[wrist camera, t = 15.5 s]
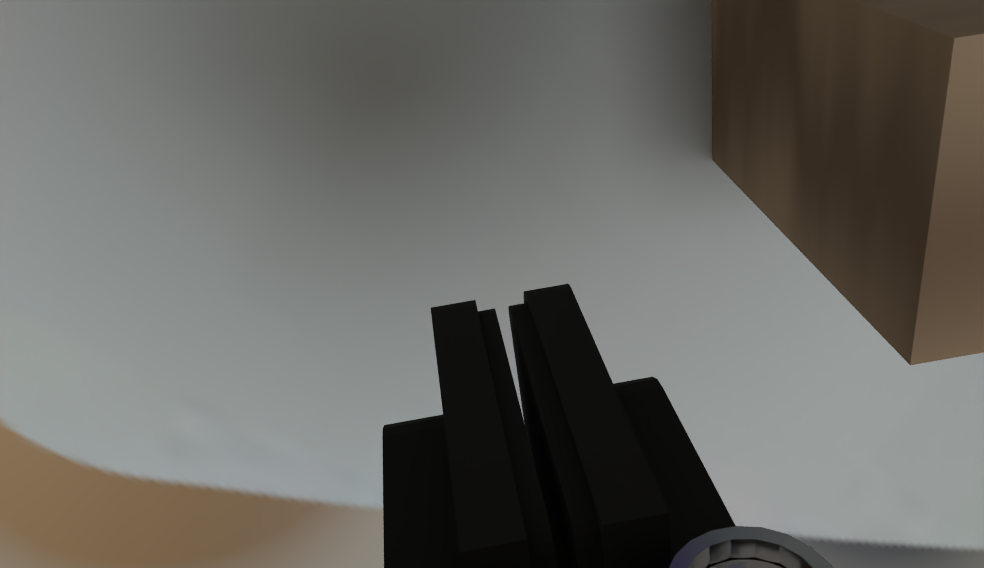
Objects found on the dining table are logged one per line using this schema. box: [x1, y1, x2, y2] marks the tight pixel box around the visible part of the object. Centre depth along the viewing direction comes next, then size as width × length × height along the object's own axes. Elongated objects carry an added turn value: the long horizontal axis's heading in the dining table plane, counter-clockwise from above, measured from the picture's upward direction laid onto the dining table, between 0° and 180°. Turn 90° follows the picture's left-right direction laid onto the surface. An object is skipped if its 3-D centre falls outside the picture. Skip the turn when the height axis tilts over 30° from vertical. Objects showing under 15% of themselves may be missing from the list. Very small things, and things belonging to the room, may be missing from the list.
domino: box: [712, 0, 984, 365], centre depth 16 cm, size 5×2×9 cm, turn 7°
